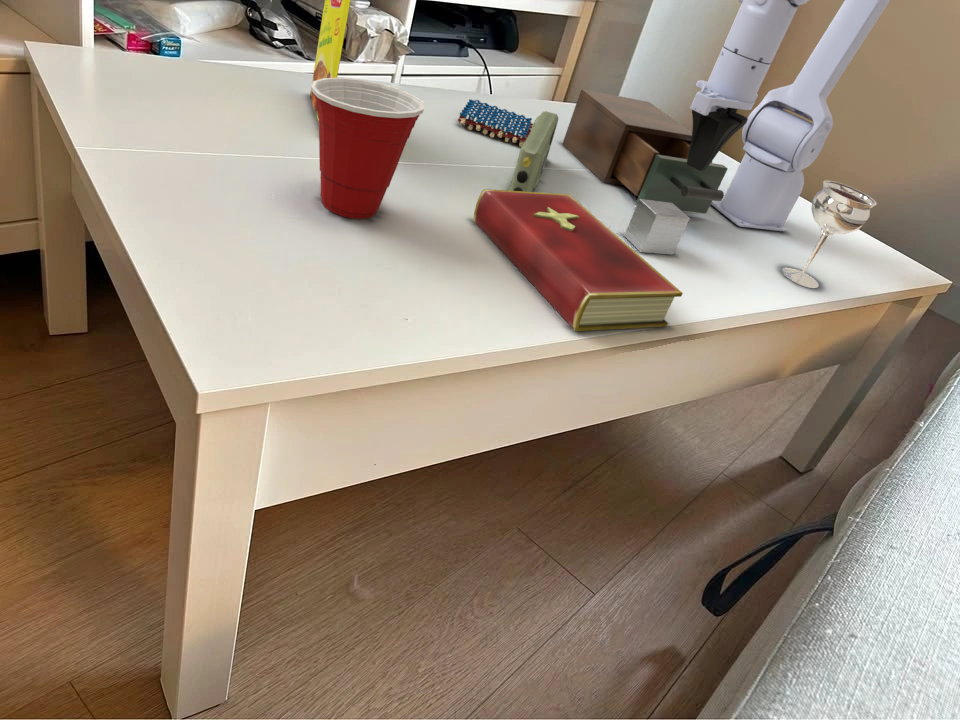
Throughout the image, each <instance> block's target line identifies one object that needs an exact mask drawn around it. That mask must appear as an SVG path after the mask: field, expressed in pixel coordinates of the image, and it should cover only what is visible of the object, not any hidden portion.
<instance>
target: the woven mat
mask: <svg viewBox="0 0 960 720" xmlns="http://www.w3.org/2000/svg"><path fill="white" fill-rule="evenodd" d="M532 120H533V118H532V117H527V116H526V115H524V114H520V113H516V112H515V111H510V110H507V109H505V108H502V109H501V107H498V106H497V105H492V104H489V103H487V102H483V101H482V100H480V99H474V100H473V99H471V98H469V99H468V101H467V104H466V103H465V106H463V109H462V110H461V112H459V117H458V119H457V121H458V123H459V124H460V125H462V126H466V125H468V127H467V129H468V131H472V130H473V129H474V127H475V131H477V132H479V131H480V132H481V129H482V134H483V135H487V134H488V132H490V134H489V137H490V138H492V139H493V138H495V135H496V136H497V137H498V138H500V139H502V138H504V143H508V142H509V141H510V139H512V141H511V142H512V143H513V144H517V142H518V141H519V143H518V146H519V148H522V146H523V144H524V143H525V141H526V139H527V137H528V136H529V134H530V132H531V129H532V125H533V123H534V122H532Z"/></svg>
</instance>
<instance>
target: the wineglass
mask: <svg viewBox="0 0 960 720" xmlns="http://www.w3.org/2000/svg"><path fill="white" fill-rule="evenodd" d="M877 205H878V203H877V202H876V200H875V199H874V198H872V197H871V196H870V195H868V194H866V193H864V192H863V191H861V190H859V189H857V188H854V187H853V186H849V185H847V184H844V183H841V182H839V181H833V180H823V181H822V189H821V190H819V191H817V192H816V194H814V196H813V199H812V202H811V205H810V206H811V207H810V210H811V213H812V216H813V220H814V222H815V223H816V225H818V227H819V228H820V229H819V230H820V233H821V234H820V237H819V239H818V240H817V242H816V244H815V246H814V248H813V250H812V252H811V254H810V255H809V257H808V259H807V261H806V263H805V265H804V267H803V269H802V270H799V269H796V268H791V267H783V268H781V273H782V274H783V276H785V277H786V278H787V279H789V281H792V282H793V283H795V284H798V285H800V286H803V287H804V288H805V287H806V288H809V289H818V288H819V286H820V285H819V283H818V281H817V280H815V278H813V277H812V276H811V275H810V274H808V273H806V272H807V270H808V269H809V267H810V266H811V264H812V262H813V261H814V259H815V258H816V256H817V255H818V253H819V252H820V250H821V248H822V247H823V245H824V244H825V242H826V240H827V239H828V238H829V237H832V236H834V235H847V234H850V233H853V232H856V231H858V230H859V229H860V228H862V227H863V226H864V225H865V224H866V223H867V222H868V221H869V219H870V215H871V212H870V211H871V209H873V208H874V207H875V206H877Z"/></svg>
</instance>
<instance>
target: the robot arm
mask: <svg viewBox="0 0 960 720" xmlns="http://www.w3.org/2000/svg"><path fill="white" fill-rule="evenodd" d="M809 1H810V0H738V2H739V3H740V6H739V8H738V11H737V13H736V16H735V18H734V20H733V23H732V25H731V27H730V29H729V31H728V34H727V35H726V39H725V41H724V43H723V46H722V47H721V49H720V52H719V54H718V57H717V59H716V61H715V64H714V66H713V69H712V71H711V73H710V75H709V77H708V80H704V79H700V80H697V81H696V83H695V87H696V88H698V89H700V91H696V93H695V95H694V97H693V100H692V102H691V104H690V107H689V110H691V115H692V116H691V117H692V130H691V132H692V138H691V143H690V148H689V153H688V158H687V165H689V166H691V167H693V168H695V169H697V170H699V171H703V170H705V169H706V168H707V167H708V166H709V164H710V163H711V162H712V163H713V160H714V159H715V158H716V156H717V155H718V154H719V152H720V151H721V149H723V147H724V146H725V145H726V143H728V141H729V140H730V139H731V138H732V136H734V135H735V134H736V133H737V132H738V131H739V130H740V129H742V130H741V131H742V132H741V140H742V143H743V144H744V145H743V147H742V150H743V151H745V153H744V155H743V157H742V159H741V161H740V163H739V165H738V167H737V170H735V173H734V176H733V178H732V180H731V182H730V184H729V186H728V188H727V190H726V192H725V194H724V197H723V199H722V200H721V201H713V200H712V203H711V205H710V206H712V207H714V208H715V209H716V210H717V211H718V212H720V213H721V214H722V215H724V216H725V217H726V218H727V219H728V220H730V221H731V222H732V223H734V224H735V225H736V226H738V227H741V228H748V229H749V228H751V229H759V230H767V231H777V232H778V231H779V232H786V230H787V228H786V226H784V225H785V223H786V221H787V219H788V217H789V216H790V214H791V212H792V210H793V209H794V207H795V205H796V203H797V201H798V199H799V198H800V195H801V194H802V191H803V189H804V184H805V175H804V173H803V170H805V169H807V168H808V167H810V166H811V165H812V164H813V163H814V161H815V160H816V159H817V158H818V156H819V155H820V154H821V151H822V150H823V148H824V146H825V142H826V140H827V138H828V136H829V134H830V133H831V131H832V129H833V126H834V118H833V116H832V113H831V111H830V108H829V106H828V102H827V99H828V97H830V94H831V92H832V91H833V89H834V88H835V86H836V85H837V84H838V82H839V80H840V79H841V77H842V75H843V74H844V73H845V71H846V69H847V68H848V66H849V65H850V63H851V62H852V60H853V58H854V57H855V55H856V53H858V51H859V49H860V48H861V47H862V44H863V42H864V41H865V40H866V38H867V36H868V35H869V33H870V32H871V31H872V30H873V27H874V26H875V24H876V23H877V21H878V20H879V18H880V16H881V15H882V14H883V13H884V10H885V9H886V7H887V6H888V4H889V3H890V1H891V0H844V1H843V3H842V5H841V6H840V8H838V11H837V12H836V13H835V15H834V17H833V19H832V20H831V22H830V23H829V25H828V27H827V28H826V29H825V32H824V33H823V34H822V36H821V37H820V40H819V41H818V43H817V44H816V46H815V47H814V49H813V50H812V52H811V53H810V56H809V57H808V59H807V60H806V62H805V63H804V65H803V66H802V69H801V70H800V72H799V73H798V75H797V76H796V78H795V79H794V81H793V83H791V84H788V85H785V86H781V87H777V88H774V89H771V90H769V91H768V92H767V94H765V96H764V97H763V99H762V100H761V101H760V103H759V104H758V105H757V106H755V108H754V107H753V106H754V105H755V103H756V100H757V99H758V96H759V94H758V92H759V90H760V88H761V86H762V83H763V81H764V79H765V77H766V75H767V73H768V71H769V69H770V67H771V65H772V62H773V60H774V58H775V57H776V55H777V52H778V51H779V48H780V46H781V44H782V42H783V40H784V38H785V36H786V33H787V31H788V29H789V27H790V25H791V23H792V21H793V19H794V16H795V14H796V13H797V10H798V8H799V7H800V6H802V5H805V4H807V3H808V2H809ZM753 108H754V109H753ZM752 109H753V110H752ZM738 110H742V111H750V110H751V112H750V113H749V114H748V117H746V116H744V115H742V114H740V113H738ZM789 111H790V112H789ZM791 112H792V113H791ZM800 116H801V117H803V118H801V117H800ZM804 118H805V119H804ZM806 119H807V120H806ZM808 120H809V121H808Z"/></svg>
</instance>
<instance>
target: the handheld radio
mask: <svg viewBox="0 0 960 720" xmlns="http://www.w3.org/2000/svg"><path fill="white" fill-rule="evenodd" d="M558 122H559V116H558V114H557V113H554V112H551V111H546V110H545V111H542V112H541V113H540V114H539V115H538V116H537V117H536V118H535V120H534V121H533V122H532V123H533V125H532V128H531V132H530V134H528V135H529V136H528V137H526V138H527V139H526V141H525V143H524V144H523V146H522V147H520V150H519V154H518V157H517V160H516V161H517V162H516V165H515V168H514V171H513V176H512V180H511V183H510V187H509V190H508V191H524V192H534V189H536V188H537V186H538V183H539V181H540V179H541V177H542V175H543V171H544V167H545V164H546V161H547V160H548V156H549V153H550V150H551V147H552V143H553V139H554V135H555V133H556V129H557V127H558V126H557V125H558Z"/></svg>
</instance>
